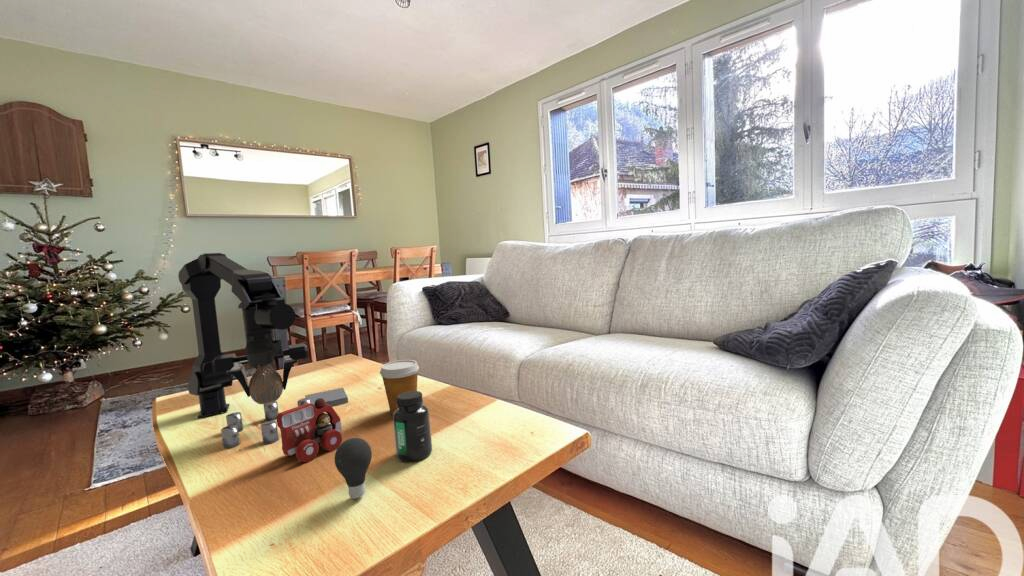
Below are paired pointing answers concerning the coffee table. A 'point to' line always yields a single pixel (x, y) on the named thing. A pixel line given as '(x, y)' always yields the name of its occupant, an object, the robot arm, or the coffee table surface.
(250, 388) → the brown textured oval
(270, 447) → the coffee table surface
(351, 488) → the light bulb
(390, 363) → the disposable coffee cup
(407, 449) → the supplement bottle
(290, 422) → the toy fire truck
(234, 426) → the spacer posts
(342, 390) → the mat
